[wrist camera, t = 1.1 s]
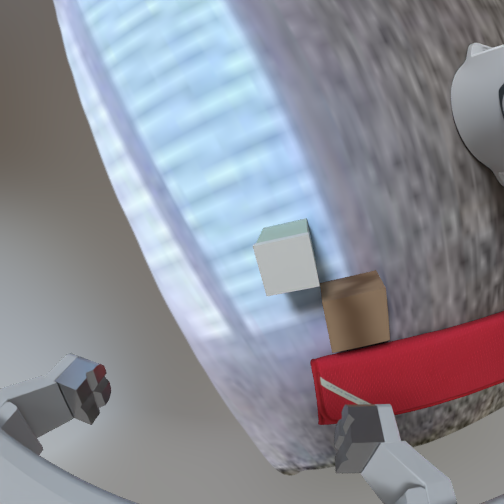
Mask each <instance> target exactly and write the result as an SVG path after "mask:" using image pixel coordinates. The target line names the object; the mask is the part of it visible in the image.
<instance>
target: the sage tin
mask: <svg viewBox="0 0 504 504" xmlns="http://www.w3.org/2000/svg"><path fill="white" fill-rule="evenodd" d="M253 249H254V252H255V256H256V260H257V263H258V267H259V270H260V274H261V277H262V281H263V284H264V288H265V292H266V295H267V296H271V295H277V294H282V293H288V292H293V291H298V290H303V289H309V288H314V287H319V286H320V284H319V279H318V274H317V267H316V259H315V254H314V250H313V245H312V241H311V236H310V232H309V227H308V223H307V219H301V220H297V221H292V222H288V223H283V224H279V225H274V226H270V227H265V228H263V230H262V232H261V234H260V236H259V238H258V240H257V242H256V243H255V244H254V245H253Z"/></svg>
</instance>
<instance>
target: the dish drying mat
mask: <svg viewBox="0 0 504 504" xmlns="http://www.w3.org/2000/svg"><path fill="white" fill-rule="evenodd" d="M310 363H311V368H312V373H313V378H314V384H315V391H316V398H317V407H318V418H319V419H318V420H319V422H318V424H319V425H327V424H337V423H338V421H339V420H340V419H342V413H341V412H342V409H343V407H344V406H345V404H349V405H359V404H374V405H375V404H390V405H391V406H392V409H393V413H394V415H398V414H402V413H407V412H411V411H415V410H419V409H423V408H427V407H431V406H434V405H437V404H441V403H444V402H447V401H451V400H454V399H457V398H460V397H464V396H467V395H470V394H472V393H475V392H478V391H481V390H483V389H486V388H489V387H491V386H494V385H497V384H500V383H503V382H504V311H503V312H499V313H496V314H493V315H490V316H487V317H484V318H481V319H478V320H474V321H471V322H468V323H464V324H461V325H457V326H453V327H450V328H447V329H443V330H439V331H434V332H430V333H425V334H422V335H417V336H413V337H409V338H405V339H401V340H396V341H392V342H388V343H384V344H379V345H375V346H370V347H366V348H361V349H357V350H351V351H347V352H342V353H337V354H332V355H328V356H323V357H320V358H317V359H312V360H311V361H310Z"/></svg>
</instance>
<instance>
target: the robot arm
mask: <svg viewBox="0 0 504 504" xmlns="http://www.w3.org/2000/svg"><path fill="white" fill-rule="evenodd" d="M451 105H452V112H453V116H454V120H455V123H456V126H457V129H458V131H459V134H460V136H461V138H462V140H463V141H464V143H465V145H466V146H467V148H468V149H469V150H470V152H471V153H472V154H473V155H474V156H475V157H476V158H477V159H478V160H479V161H480V162H482V163H483V164H484V165H486V166H487V167H489V168H490V169H491V170H492V171H493V173H494V175H495V176H496V178H497V180H498V181H499V183H500V184H501V185H502V186H504V45H501V46H498V47H494V48H492V47H489V46H486V45H483V44H480V43H473V44H470V45H469V48H468V52H467V58H466V61H465V62H464V64H463V65H462V66H461V67H460V68H459V69H458V71H457V73H456V74H455V77H454V79H453V83H452V89H451ZM105 374H106V370H105V367H104V366H103V365H101V364H99V363H96V362H93V361H91V360H88V359H85V358H82V357H79V356H77V355H74V354H72V353H70V354H66V355H65V356H64V357H63V359H61V360H60V362H58V364H56V365H55V366H54V367H53V368H52V369H51V370H50V371H49V373H47V374H46V376H39V377H35V378H32V379H29V380H26V381H23V382H20V383H17V384H13V385H10V386H7V387H4V388H0V504H138V503H135V502H133V501H130V500H127V499H125V498H122V497H120V496H117V495H115V494H112V493H110V492H108V491H106V490H103V489H101V488H99V487H97V486H94V485H92V484H90V483H88V482H86V481H84V480H82V479H80V478H78V477H76V476H74V475H72V474H70V473H69V472H67V471H65V470H63V469H61V468H60V467H58V466H56V465H54V464H52V463H51V462H49V461H47V460H46V459H44V458H42V457H41V456H39V455H40V453H41V452H42V450H43V447H42V445H41V444H40V443H39V441H38V439H37V438H38V437H40V436H42V435H44V434H45V433H47V432H49V431H51V430H53V429H55V428H57V427H59V426H61V425H62V424H64V423H66V422H68V421H70V420H72V419H73V418H76V419H78V420H81V421H83V422H85V423H88V424H90V425H92V424H93V422H94V421H95V419H96V418H97V416H98V415H99V413H100V410H99V407H102V406H104V405H106V403H107V402H108V400H109V398H110V394H111V386H110V383H109V381H108V380H107V379H106V378H105ZM341 413H342V419H340V420H339V421H338V423H337V425H336V429H335V434H334V447H335V448H336V449H337V450H338V452H337V454H336V456H335V467H336V473H361V475H362V476H363V477H364V479H365V480H366V482H367V483H368V484H369V485H370V487H371V488H372V489H373V491H374V492H375V493H376V494H377V496H378V497H379V498H380V500H381V501H382V502H383V503H384V504H457V501H456V497H455V493H454V490H453V486H452V482H451V479H449V478H448V477H447V476H446V475H445V474H443V473H442V472H441V471H440V470H438V469H437V468H436V467H435V466H434V465H433V464H432V463H430V462H429V461H428V460H427V459H426V458H425V457H423V456H422V455H421V454H420V453H419V452H418V451H416V450H415V449H414V448H413V447H412V446H411V445H409V444H408V443H407V442H406V441H401V438H400V434H399V431H398V427H397V423H396V420H395V416H394V413H393V409H392V406H391V405H390V404H375V405H374V404H359V405H349V404H345V406H344V407H343V409H342V412H341ZM481 504H504V494H503V495H500V496H498V497H495V498H493V499H491V500H488V501H486V502H483V503H481Z"/></svg>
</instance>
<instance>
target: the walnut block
mask: <svg viewBox="0 0 504 504" xmlns="http://www.w3.org/2000/svg"><path fill="white" fill-rule="evenodd" d="M320 288H321V297H322V304H323V309H324V314H325V318H326V323H327V328H328V333H329V339H330V344H331V349H332V353H335V352H340V351H344V350H349V349H354V348H359V347H363V346H367V345H372V344H376V343H380V342H384V341H388V340H390V335H389V320H388V307H387V297H386V288H385V286H384V284H383V282H382V280H381V279H380V277H379V275H378V273H377V271H376V270H375V271H371V272H367V273H363V274H358V275H354V276H350V277H345V278H341V279H336V280H332V281H327V282H323V283H320Z"/></svg>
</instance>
